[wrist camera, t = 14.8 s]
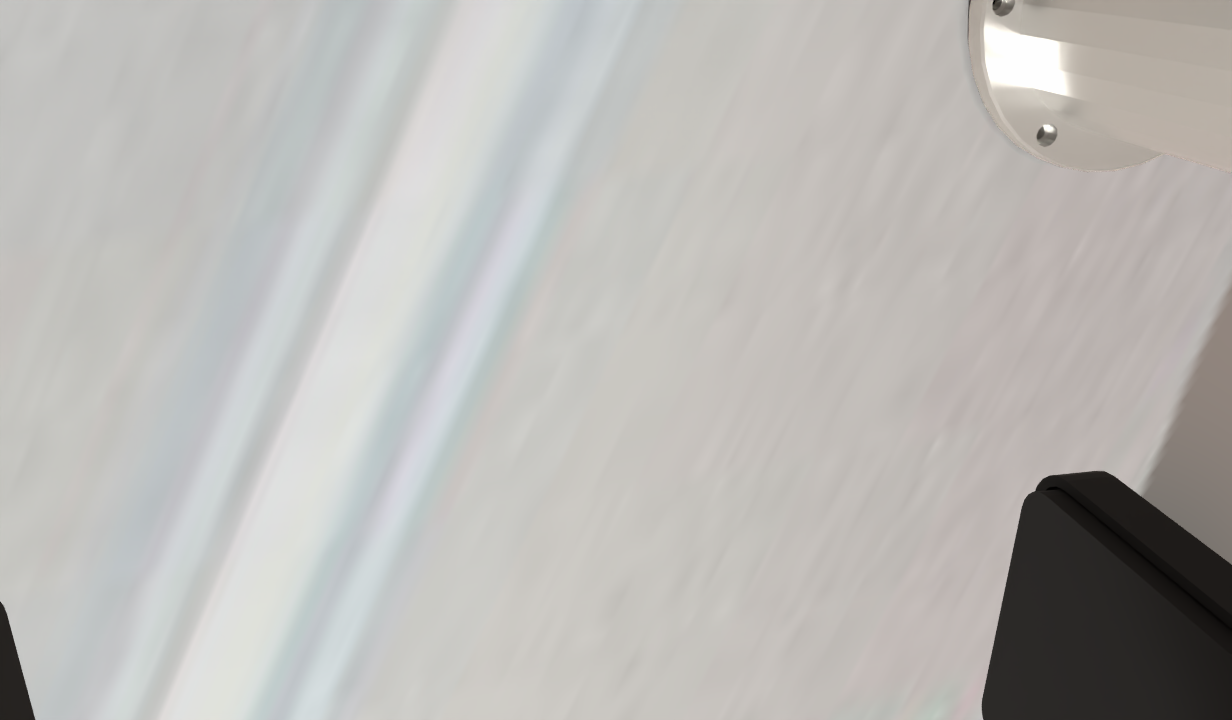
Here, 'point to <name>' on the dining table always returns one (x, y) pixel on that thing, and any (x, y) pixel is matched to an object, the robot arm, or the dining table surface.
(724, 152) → the dining table surface
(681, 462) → the dining table surface
